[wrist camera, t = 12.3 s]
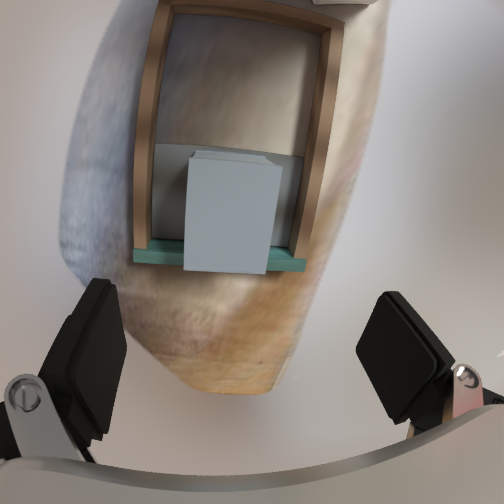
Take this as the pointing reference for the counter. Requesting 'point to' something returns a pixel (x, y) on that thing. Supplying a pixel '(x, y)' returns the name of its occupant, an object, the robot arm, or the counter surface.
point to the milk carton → (343, 1)
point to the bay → (177, 155)
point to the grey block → (230, 212)
